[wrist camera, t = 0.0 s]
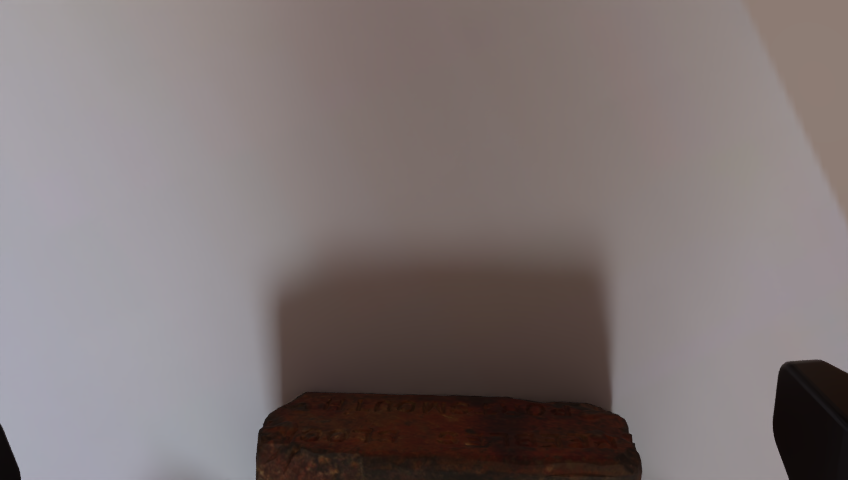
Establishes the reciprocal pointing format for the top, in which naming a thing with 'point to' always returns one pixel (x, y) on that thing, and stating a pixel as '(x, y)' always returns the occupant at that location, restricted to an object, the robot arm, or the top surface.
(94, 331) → the top surface
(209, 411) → the top surface
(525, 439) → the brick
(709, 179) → the top surface
